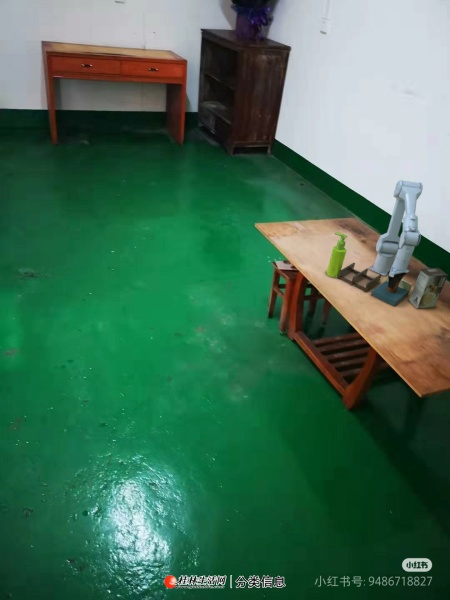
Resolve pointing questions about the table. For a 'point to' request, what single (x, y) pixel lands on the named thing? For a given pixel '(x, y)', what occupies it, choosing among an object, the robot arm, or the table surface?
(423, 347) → the table surface
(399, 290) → the sill
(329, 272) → the soap dispenser
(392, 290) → the bottle
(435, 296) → the coffee box
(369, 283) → the shelf rack
